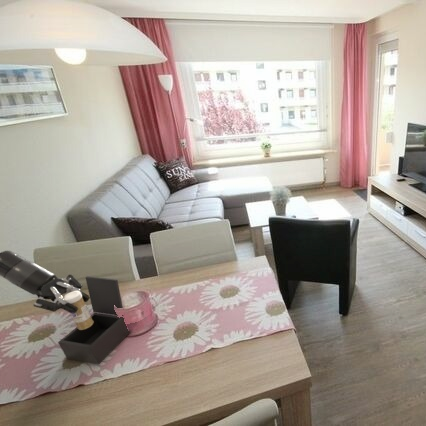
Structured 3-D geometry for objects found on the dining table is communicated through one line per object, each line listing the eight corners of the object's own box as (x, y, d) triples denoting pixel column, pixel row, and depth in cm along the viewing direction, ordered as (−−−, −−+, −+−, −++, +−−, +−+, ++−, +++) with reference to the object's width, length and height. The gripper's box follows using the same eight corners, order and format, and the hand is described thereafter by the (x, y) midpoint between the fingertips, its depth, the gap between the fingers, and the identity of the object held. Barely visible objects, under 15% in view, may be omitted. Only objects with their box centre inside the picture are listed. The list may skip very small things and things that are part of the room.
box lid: (115, 280, 104) (117, 279, 104) (85, 277, 106) (87, 276, 107) (122, 316, 107) (124, 314, 108) (93, 312, 110) (95, 310, 111)
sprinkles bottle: (75, 331, 99) (59, 300, 93) (83, 321, 103) (68, 290, 97) (89, 329, 99) (74, 298, 93) (97, 319, 103) (83, 289, 98)
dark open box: (98, 364, 99) (89, 347, 95) (67, 358, 101) (57, 342, 98) (130, 332, 111) (123, 316, 108) (101, 328, 114) (94, 312, 110)
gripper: (13, 284, 85) (71, 314, 90) (54, 257, 98) (102, 285, 103) (4, 299, 87) (60, 328, 92) (44, 270, 100) (92, 297, 105)
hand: (82, 305), depth 97 cm, fingers closed on sprinkles bottle, 4 cm apart
